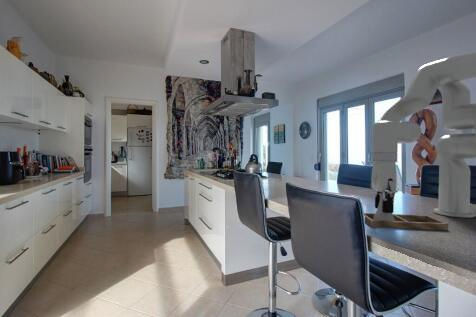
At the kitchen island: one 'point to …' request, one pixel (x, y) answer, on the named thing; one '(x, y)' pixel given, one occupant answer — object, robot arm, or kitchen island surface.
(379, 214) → the flask
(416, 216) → the divider frame
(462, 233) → the kitchen island surface
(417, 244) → the kitchen island surface
